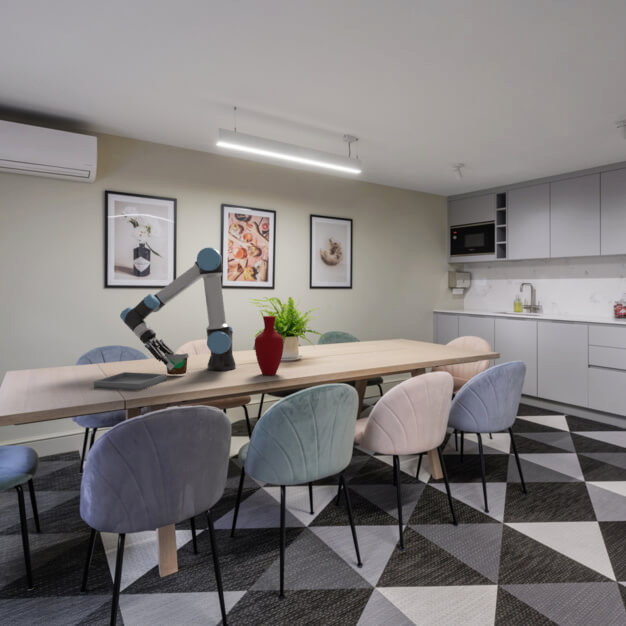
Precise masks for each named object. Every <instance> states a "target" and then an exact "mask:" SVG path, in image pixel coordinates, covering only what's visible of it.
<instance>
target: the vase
mask: <svg viewBox="0 0 626 626" xmlns="http://www.w3.org/2000/svg"><path fill="white" fill-rule="evenodd" d="M262 318H263V319H262V320H263V324H264V325H263V326H264V329H263V330H262V332H260V334H258V335H257V336H256V337H255V339H254V350H255V351H254V352H255V356H256V360H257V361H256V362H257V364H258V367H259V369H260V372H261V374H262V375H263V376H275V375H276V374H277V373H278V370H279V367H280V364H281V361H282V359H283V353H284V345H285V344H284V342H285V341H284V337H283V336H282V335H281V334H280V333H278V332H277V331H276V329H275V322H276V316H275V315H273V316H272V315H264V316H262Z"/></svg>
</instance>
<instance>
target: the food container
mask: <svg viewBox="0 0 626 626" xmlns="http://www.w3.org/2000/svg"><path fill="white" fill-rule="evenodd" d="M164 357H166V358H167V359H168V360H169V361H170V362H171V363H172V364H173V365H174V367H173V369H172V370H169V368H168V367H167V366H166V373H167V374H168V375H172V376H173V375H175V376H176V375H184V374H187V366H188V358H190V357H189V354H188V353H182V354H179V353H174V354H173V355H169V354H167V353H165V354H164ZM167 374H166V375H167Z"/></svg>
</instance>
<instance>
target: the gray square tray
mask: <svg viewBox="0 0 626 626" xmlns="http://www.w3.org/2000/svg"><path fill="white" fill-rule="evenodd" d="M163 381H164V382H166V381H167V374H166V373H165V374H164V373H149V372H145V373H144V372H132V371H131V372H129V371H128V372H127V371H124V372H120V373H117V374H114V375H110V376H108V377H107V376H106V377H103V378H101V379H98V380H94V381H93V389H97V388H107V389H106V390H114V389H122V390H121V391H131V390H141V391H143V390H142V389H144V390H146V389H148V388H147V387H149V388H151V387H153V385H154V386H157V385H158V383H159V384H161V383H163ZM150 386H151V387H150ZM145 388H146V389H145Z"/></svg>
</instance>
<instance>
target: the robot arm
mask: <svg viewBox="0 0 626 626" xmlns="http://www.w3.org/2000/svg"><path fill="white" fill-rule="evenodd" d="M223 274H224V271H223V256H222V254H221V253H220V252H219V251H218V249H216V248H214V247H212V246H210V247H208V246H207V247H203V248H202V249H200V250H199V251H198V253H197V256H196V261H195V262H194V265H193V266H192V267H190V268H189V269H188V270H186V271H185V272H183V273H182V274H181V275H179V276H178V277H177V278H175V279H174V280H172V281H171V282H170V283H169V284H167V285H166V286H164V287H163V288H161V290H159V291H158V292H157V293H155V294H151V293H150V294H148V295H146V296H145V297H144V298H143V299H142V300H141V301H139V303H138V304H137V305H136V306H134V307H131V306H129V307H126V308H125V309H123V310H122V311H121V312H120V315H119V317H120V319H121V320H122V321H123V323H124V324H125V326H127V327H128V329H130V330H131V331H132V332H133V334H134V335H135V336H136V337H137V338H138V339H139V340H140V341H141V343H142V344H144V347H145V349H147V350H148V351H149V352H150V354H152V356H153V357H154V358H155V360H157V361H158V362H162V363H163V364H164V365H165V366H166V368H167V367H168V368H169V370H172V369H173V367H174V365H173V364H172V363H171V362H170V361H169V360H168V359H167V358H166V357H164V356H165V353H167V354H169V355H173V354H175V352H174V351H173V349H171V347H169V345H167V344H166V343H165V341H164V340H163V339H162V338H161V339H160V340H159V339H158V338H157V337H156V336H157V334H156V332H155V331H154V329H152V328H151V327H150V325H148V324H147V322H146V321H145V319H147V317H148V316H150V315H151V314H152V313H157V312H159V311H160V310H162V308H163V307H164V306H165V305H167V304H168V303H170V302H171V301H172V300H174V299H175V298H177V297H178V296H179V295H180V294H182V293H183V292H184V291H186V290H187V289H189V288H190V287H192V285H195V283H197V282H198V281H200V280H201V279H203V280H202V281H203V285H204V295H205V296H204V297H205V303H206V312H207V319H208V326H207V327H206V336H207V337H206V338H207V339H206V346H207V348H208V349H209V351H210V356H209V359H208V361H207V370H209V369H210V370H209V371H215V370H224V371H230V370H231V369H232V370H235V369H236V368H237V367H236V366H237V364H236V361H235V357H234V355H233V333H234V331H233V328H232V326H230V325H229V324H228V323H227V321H226V312H225V306H224V305H225V304H224V296H223V287H222V281H221V280H222V279H221V277H222V275H223ZM234 368H235V369H234Z"/></svg>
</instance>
